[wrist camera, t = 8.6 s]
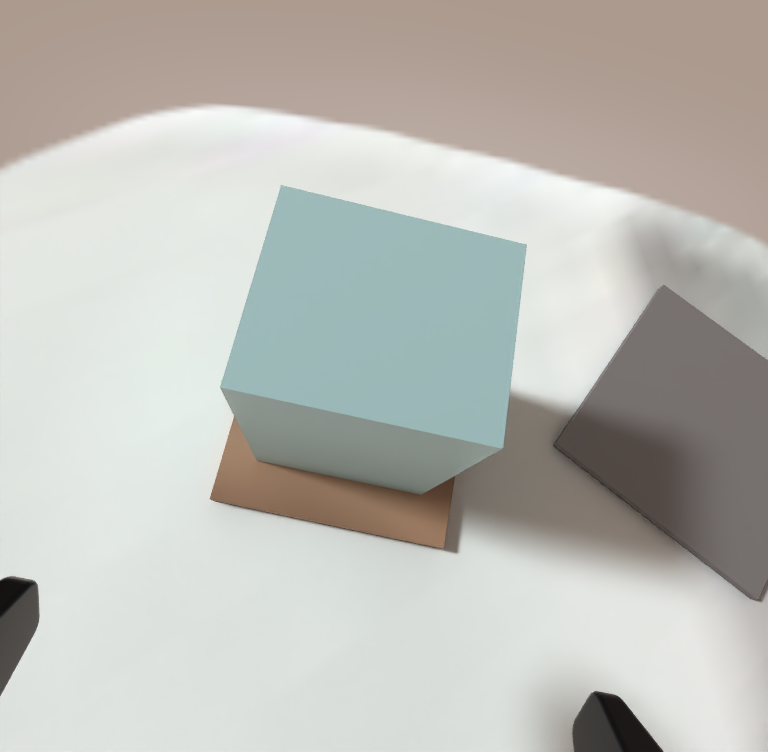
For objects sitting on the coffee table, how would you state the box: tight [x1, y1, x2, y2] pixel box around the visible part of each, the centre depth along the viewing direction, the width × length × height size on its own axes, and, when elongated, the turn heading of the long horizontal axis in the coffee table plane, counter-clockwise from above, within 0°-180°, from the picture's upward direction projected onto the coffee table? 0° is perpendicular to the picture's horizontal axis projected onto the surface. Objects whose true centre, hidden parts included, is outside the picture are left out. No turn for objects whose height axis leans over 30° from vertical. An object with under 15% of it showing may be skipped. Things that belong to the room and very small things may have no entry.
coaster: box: [210, 416, 455, 548], centre depth 23 cm, size 9×9×1 cm
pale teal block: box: [220, 185, 527, 495], centre depth 18 cm, size 6×6×10 cm
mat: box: [554, 285, 768, 600], centre depth 25 cm, size 10×10×1 cm
